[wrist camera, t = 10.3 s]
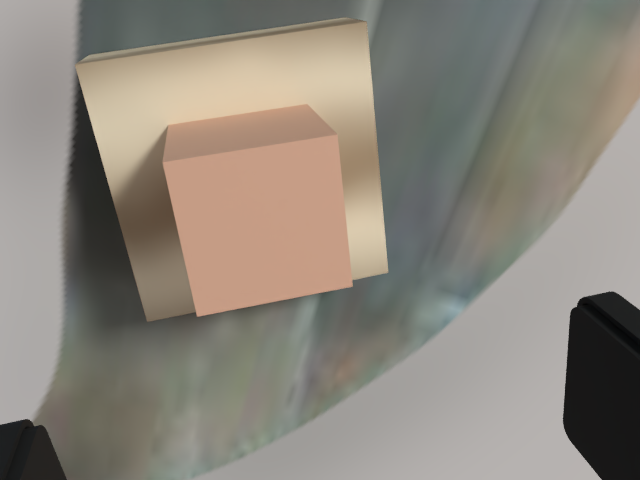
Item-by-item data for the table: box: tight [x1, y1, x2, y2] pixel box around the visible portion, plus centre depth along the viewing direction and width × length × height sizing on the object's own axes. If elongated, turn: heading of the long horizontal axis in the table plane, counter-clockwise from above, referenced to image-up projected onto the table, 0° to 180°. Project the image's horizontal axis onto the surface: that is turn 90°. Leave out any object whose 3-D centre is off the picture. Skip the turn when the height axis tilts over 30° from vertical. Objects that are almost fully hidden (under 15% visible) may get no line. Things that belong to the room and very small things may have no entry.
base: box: [75, 17, 388, 322], centre depth 26 cm, size 11×11×4 cm
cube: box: [163, 104, 353, 317], centre depth 22 cm, size 6×6×6 cm
